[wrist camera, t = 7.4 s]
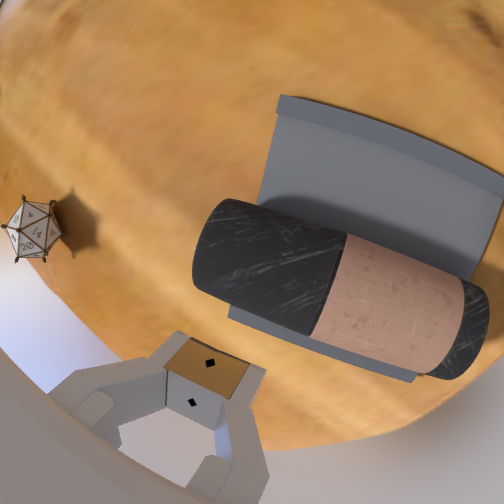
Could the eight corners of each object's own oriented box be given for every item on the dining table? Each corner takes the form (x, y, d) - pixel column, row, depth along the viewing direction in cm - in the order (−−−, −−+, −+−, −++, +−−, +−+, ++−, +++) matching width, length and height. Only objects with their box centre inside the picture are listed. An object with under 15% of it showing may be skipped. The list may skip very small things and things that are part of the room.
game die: (79, 203, 38) (52, 196, 28) (71, 264, 38) (43, 273, 28) (27, 197, 36) (-6, 189, 26) (20, 255, 36) (-14, 261, 26)
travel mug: (177, 267, 18) (481, 376, 14) (232, 172, 21) (494, 269, 17) (202, 305, 25) (427, 385, 21) (240, 228, 28) (445, 302, 24)
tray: (284, 96, 21) (280, 94, 20) (507, 180, 17) (513, 182, 16) (232, 311, 30) (227, 317, 29) (410, 375, 26) (411, 383, 25)
